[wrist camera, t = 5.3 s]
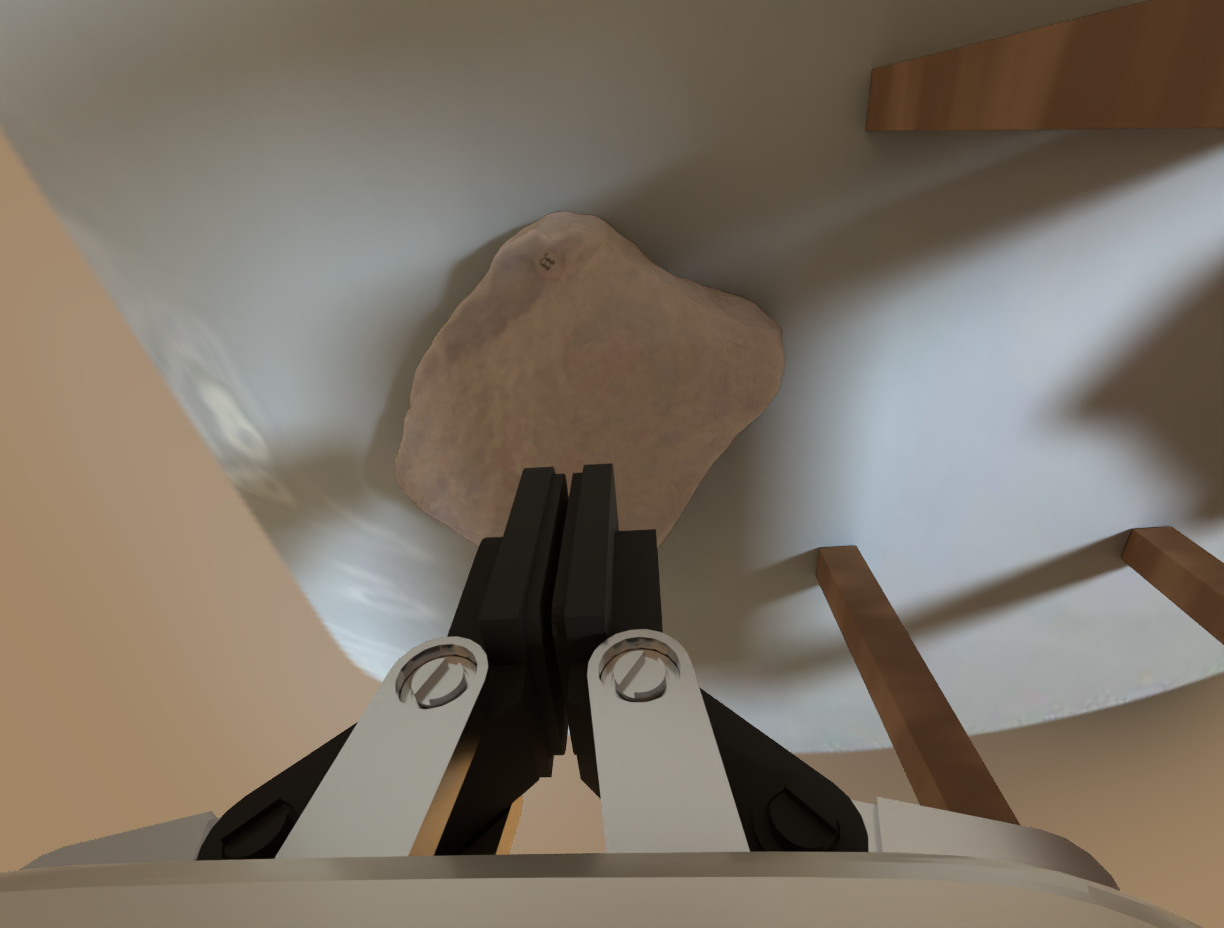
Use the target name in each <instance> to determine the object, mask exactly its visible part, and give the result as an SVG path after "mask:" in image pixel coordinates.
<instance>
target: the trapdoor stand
mask: <svg viewBox="0 0 1224 928" xmlns="http://www.w3.org/2000/svg"><path fill="white" fill-rule="evenodd" d="M1217 127H1224V0H1149V1H1145V2H1141V3H1137V4H1133V5H1129V6H1125V7H1121V8H1117V9H1113V10H1109V11H1105V12H1101V13H1097V14H1093V15H1089V16H1085V17H1081V18H1077V19H1073V20H1069V21H1065V22H1061V23H1057V24H1053V25H1049V26H1045V27H1041V28H1037V29H1033V30H1029V31H1024V32H1020V33H1016V34H1012V35H1008V36H1004V37H1000V38H996V39H992V40H988V41H984V42H980V43H976V44H972V45H968V46H964V47H960V48H956V49H952V50H948V51H944V52H940V53H936V54H932V55H928V56H924V57H920V58H916V59H912V60H908V61H904V62H900V63H896V64H891V65H887V66H883V67H879V68H875V69H872V75H871V84H870V93H869V102H868V111H867V120H866V129H865V131H910V130H1012V129H1115V128H1217ZM1121 559H1122V560H1123V561H1124V562H1125V563H1127V564H1128V565H1129V566H1130V567H1131V568H1133V569H1134V570H1135V571H1136V572H1137V573H1139V574H1140V575H1141V576H1142V577H1143V578H1144V579H1146V580H1147V581H1148V582H1149V583H1150V584H1152V585H1153V586H1154V587H1155V588H1156V589H1158V590H1159V591H1160V592H1161V593H1162V594H1164V595H1165V596H1166V597H1167V598H1168V599H1170V600H1171V601H1172V602H1173V603H1174V604H1175V605H1177V606H1178V607H1179V608H1180V609H1181V610H1183V611H1184V612H1185V613H1186V614H1187V615H1189V616H1190V617H1191V618H1192V619H1193V620H1195V621H1196V622H1197V623H1198V624H1199V625H1201V626H1202V627H1203V628H1204V629H1205V630H1206V631H1208V632H1209V633H1210V634H1211V635H1212V636H1214V637H1215V638H1216V639H1217V640H1218V641H1220V642H1221V643H1222V644H1223V645H1224V563H1223V562H1221V561H1220V560H1218V559H1217V558H1216V557H1214V556H1213V555H1211V554H1210V553H1209V552H1207V551H1206V550H1204V549H1203V548H1201V547H1200V546H1199V545H1197V544H1196V543H1194V542H1193V541H1191V540H1190V539H1189V538H1187V537H1186V536H1184V535H1183V534H1182V533H1180V532H1179V531H1177V530H1176V529H1174V528H1173V527H1156V528H1139V529H1133V530H1132V533H1131V535H1130V538H1129V540H1128V542H1127V545H1126V547H1125V550H1124V552H1123V554H1122V557H1121ZM816 578H817V580H818V582H819V584H820V587H821V589H822V591H823V593H824V595H825V597H826V600H827V602H828V604H829V606H830V608H831V611H832V613H833V615H834V617H835V619H836V622H837V624H838V626H839V628H840V630H841V633H842V635H843V637H844V639H845V641H846V644H847V646H848V648H849V650H850V652H851V654H852V657H853V659H854V661H855V663H856V665H857V668H858V670H859V672H860V674H861V676H862V679H863V681H864V683H865V685H866V687H867V690H868V692H869V694H870V696H871V698H872V701H873V703H874V705H875V707H876V709H877V711H878V714H879V716H880V718H881V720H882V722H883V725H884V727H885V729H886V731H887V733H888V736H889V738H890V740H891V742H892V744H893V747H894V749H895V751H896V753H897V755H898V757H899V759H900V762H901V764H902V766H903V768H904V771H905V773H906V775H907V777H908V779H909V782H910V784H911V786H912V788H913V790H914V793H915V795H916V797H917V799H918V801H919V803H920V805H921V806H926V807H931V808H936V809H941V810H946V811H951V812H956V813H961V814H966V815H971V816H976V817H981V818H986V819H991V820H996V821H1001V822H1006V823H1011V824H1016V825H1020V824H1019V822H1018V820H1017V819H1016V817H1015V815H1014V814H1013V812H1012V810H1011V808H1010V807H1009V805H1008V803H1007V802H1006V800H1005V798H1004V796H1003V795H1002V793H1001V792H1000V790H999V788H998V786H997V785H996V783H995V781H994V779H993V778H992V776H991V774H990V773H989V771H988V769H987V768H986V766H985V764H984V762H983V761H982V759H981V757H980V756H979V754H978V752H977V751H976V749H975V747H974V745H973V744H972V742H971V740H970V739H969V737H968V735H967V733H966V732H965V730H964V728H963V727H962V725H961V723H960V722H959V720H958V718H957V716H956V715H955V713H954V711H953V710H952V708H951V706H950V705H949V703H948V701H947V699H946V698H945V696H944V694H943V693H942V691H941V689H940V688H939V686H938V684H937V682H936V681H935V679H934V677H933V676H932V674H931V672H930V671H929V669H928V667H927V665H926V664H925V662H924V660H923V659H922V657H921V655H920V654H919V652H918V650H917V648H916V647H915V645H914V643H913V642H912V640H911V638H910V636H909V635H908V633H907V631H906V630H905V628H904V626H903V625H902V623H901V621H900V619H899V618H898V616H897V614H896V613H895V611H894V609H893V608H892V606H891V604H890V602H889V601H888V599H887V597H886V596H885V594H884V592H883V591H882V589H881V587H880V585H879V584H878V582H877V580H876V579H875V577H874V575H873V574H872V572H871V570H870V568H869V567H868V565H867V563H866V562H865V560H864V558H863V557H862V555H861V553H860V551H859V550H858V548H857V546H841V547H824V548H819V553H818V562H817V571H816Z"/></svg>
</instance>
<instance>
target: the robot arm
mask: <svg viewBox="0 0 1224 928" xmlns="http://www.w3.org/2000/svg"><path fill="white" fill-rule="evenodd" d="M568 725H569V730H570V736H571V742H572V747H573V752H574V754H575V755H577V760H578V765H579V771H580V777H581V780H582V781H583V782H584V783H585V784H586V785H587V786H588V787H589V788H590V789H591V790H592V791H593V792H594V793H595V794H596V795H597V796H598V797H599V798H600V799H601V805H602V814H603V822H604V831H605V840H606V850H607V853H593V854H591V853H585V854H523V855H522V854H521V855H520V854H518V855H509V853H510V850H511V846H512V843H513V839H514V836H515V833H516V829H517V826H518V823H519V820H520V816H521V812H522V805H523V797H522V794H523V793H525V792H526V791H527V790H528V789H529V788H530V787H532V786H533V785H534V784H535V783H536V782H537V781H538V780H539V777H551V775H552V767H553V758H554V755H564V754H565V750H566V743H567V733H568ZM0 928H1203V927H1201V926H1199V925H1197V924H1195V923H1193V922H1192V921H1190V920H1188V919H1186V918H1183V917H1181V916H1179V915H1177V914H1175V913H1173V912H1170V911H1168V910H1166V909H1164V908H1162V907H1159V906H1157V905H1154V904H1151V903H1149V902H1147V901H1144V900H1142V899H1139V898H1136V897H1134V896H1132V895H1129V894H1127V893H1124V892H1121V891H1120V889H1119V888H1118V886H1117V884H1116V883H1115V881H1114V879H1113V878H1112V876H1111V875H1110V874H1109V873H1108V872H1107V871H1106V870H1105V869H1104V868H1103V867H1102V866H1101V865H1100V864H1099V863H1098V862H1097V861H1096V860H1095V859H1094V858H1093V857H1092V856H1091V855H1090V854H1089V853H1087V852H1086V851H1084V850H1083V849H1081V848H1080V847H1078V846H1077V845H1075V844H1074V843H1072V842H1071V841H1069V840H1067V839H1066V838H1064V837H1061V836H1058V835H1055V834H1052V833H1049V832H1047V831H1044V830H1041V829H1036V828H1031V827H1026V826H1021V825H1016V824H1011V823H1006V822H1001V821H996V820H991V819H986V818H981V817H976V816H971V815H966V814H961V813H956V812H951V811H946V810H941V809H936V808H931V807H926V806H921V805H915V804H911V803H906V802H901V801H896V800H891V799H886V798H880V797H877V798H876V802H875V805H874V804H868V803H864V802H859V801H854V800H851V799H850V798H849V797H848V796H847V795H846V794H845V793H844V792H843V791H842V790H840V789H839V788H838V787H837V786H836V785H835V784H834V783H833V782H831V781H830V780H828V779H827V778H825V777H824V776H823V775H821V774H820V773H819V772H817V771H815V770H814V769H813V768H812V767H810V766H809V765H807V764H806V763H804V762H803V761H802V760H800V759H799V758H798V757H796V756H795V755H793V754H792V753H791V752H789V751H788V750H786V749H785V748H783V747H782V746H781V745H779V744H778V743H776V742H775V741H774V740H772V739H771V738H769V737H768V736H767V735H765V734H764V733H762V732H761V731H760V730H758V729H757V728H755V727H754V726H753V725H751V724H750V723H748V722H747V721H746V720H744V719H743V718H741V717H740V716H739V715H737V714H736V713H734V712H733V711H732V710H730V709H729V708H727V707H726V706H725V705H723V704H722V703H720V702H719V701H718V700H716V699H715V698H713V697H712V696H711V695H709V694H708V693H706V692H705V691H704V690H702V689H701V688H699V685H698V682H697V678H696V675H695V672H694V669H693V665H692V662H691V659H690V657H689V656H688V654H687V652H686V650H685V648H684V647H683V646H682V645H681V644H680V643H679V642H677V641H676V640H675V639H674V638H672V637H670V636H668V635H666V634H664V633H663V629H662V614H661V599H660V584H659V568H658V553H657V538H656V529H649V530H628V531H619V524H618V513H617V502H616V490H615V479H614V469H613V463H608V464H590V465H584V466H583V472H582V473H573V475H572V481H571V487H570V494H569V495H568V488H567V481H566V476H565V474H564V473H563V474H556V473H555V469H554V467H536V468H524V469H523V472H522V475H521V478H520V482H519V485H518V488H517V492H516V495H515V498H514V502H513V505H512V508H511V512H510V515H509V518H508V522H507V525H506V528H505V531H504V535H503V537H485V538H484V539H482V541H481V543H480V545H479V548H478V551H477V553H476V556H475V559H474V562H473V565H472V568H471V571H470V573H469V576H468V579H467V582H466V585H465V588H464V590H463V593H462V596H461V599H460V602H459V605H458V608H457V610H456V613H455V616H454V619H453V622H452V625H451V628H450V630H449V633H448V636H447V637H441V638H437V639H433V640H429V641H426V642H424V643H422V644H420V645H418V646H416V647H414V648H412V649H411V650H410V651H408V652H407V653H406V654H405V655H403V656H402V657H401V658H399V660H398V661H397V662H396V663H395V665H394V666H393V667H392V668H391V670H390V671H389V673H388V674H387V676H386V677H385V679H384V681H383V682H382V684H381V686H380V687H379V689H378V691H377V692H376V694H375V696H374V697H373V699H372V700H371V702H370V703H369V705H368V707H367V708H366V710H365V712H364V713H363V715H362V717H361V718H360V720H359V721H358V722H357V723H356V724H354V725H353V726H351V727H350V728H348V729H347V730H345V731H344V732H342V733H340V734H339V735H337V736H336V737H334V738H333V739H331V740H330V741H328V742H327V743H325V744H324V745H322V746H321V747H319V748H318V749H316V750H315V751H313V752H312V753H310V754H309V755H307V756H306V757H304V758H303V759H301V760H300V761H298V762H297V763H295V764H294V765H292V766H291V767H289V768H288V769H286V770H285V771H283V772H282V773H280V774H279V775H277V776H275V777H274V778H272V779H271V780H269V781H268V782H266V783H265V784H263V785H262V786H260V787H259V788H257V789H256V790H254V791H253V792H251V793H250V794H248V795H247V796H245V797H244V798H243V799H242V800H240V801H239V802H238V803H236V804H235V805H234V806H233V807H232V808H230V809H229V810H228V811H227V812H226V813H225V814H224V815H223V816H222V817H220V818H217V817H216V816H215V814H214V813H213V812H212V811H210V812H205V813H201V814H197V815H193V816H189V817H185V818H181V819H176V820H172V821H168V822H164V823H160V824H156V825H152V826H148V827H143V828H139V829H135V830H131V831H127V832H123V833H119V834H115V835H111V836H106V837H102V838H98V839H94V840H90V841H86V842H82V843H78V844H74V845H69V846H65V847H62V848H60V849H57V850H55V851H52V852H49V853H47V854H44V855H42V856H40V857H39V858H37V859H36V860H34V861H32V862H31V863H29V864H28V865H26V866H24V867H23V868H21V869H20V870H15V871H7V872H2V873H0Z"/></svg>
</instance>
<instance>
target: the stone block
mask: <svg viewBox="0 0 1224 928" xmlns="http://www.w3.org/2000/svg"><path fill="white" fill-rule="evenodd" d="M781 339H782V330H781V327H780V326H779V325H778V324H777V323H776V322H775V321H774V320H773V319H772V318H770V317H769V316H768V315H767V314H766V313H764V312H763V311H762V310H761V309H760V308H759V307H758V306H757V305H756V304H755V303H754V302H751V301H749V300H747V299H744V298H742V297H739V296H737V295H734V294H730V293H724V292H722V291H720V290H718V289H715V288H710V287H705V286H703V285H701V284H699V283H697V282H694V281H691V280H689V279H686V278H682V277H676V276H674V275H673V274H671V273H669V272H667V271H665V270H664V269H662V268H660V267H658V266H656V265H655V264H654V263H653V262H652V261H651V260H650V259H648V258H647V257H646V256H645V255H644V254H643V253H642V252H641V251H640V249H639V248H638V247H637V246H636V245H635V244H634V243H633V242H631V241H629V240H628V239H626V238H625V237H623V236H622V235H620V234H619V233H618V232H616V231H615V230H614V229H613V228H612V227H611V226H610V225H609V224H608V223H607V222H605V221H604V220H602V219H600V218H598V217H596V216H593V215H580V214H576V213H573V212H570V211H559V212H555V213H551V214H547V215H545V216H544V217H542V218H541V219H540V220H538V221H536V222H534V223H532V224H530V225H528V226H526V227H524V228H523V229H522V230H520V231H519V232H518V233H517V234H515V235H514V236H513V237H511V238H510V239H509V240H506V242H505V243H504V244H503V245H502V246H501V247H500V249H499V251H498V252H497V254H496V255H495V256H494V258H493V260H492V262H491V265H490V269H489V271H488V272H487V273H486V275H485V276H484V277H483V278H482V280H481V281H480V282H479V284H478V285H477V286H476V287H475V289H474V290H473V291H472V293H471V294H469V295H468V296H467V297H466V298H465V299H464V300H463V301H461V302H460V304H459V305H458V306H457V307H456V308H455V310H454V312H453V313H452V315H451V317H450V318H449V319H448V321H447V322H446V324H445V325H444V326H443V327H442V328H441V329H440V330H439V332H438V334H437V335H436V337H435V338H434V340H433V341H432V345H431V346H430V347H429V349H428V350H427V351H426V353H425V354H424V356H423V358H422V359H421V361H420V363H419V365H418V367H417V369H416V371H415V374H414V378H413V382H412V387H411V394H410V401H409V402H410V408H409V410H408V411H407V413H406V415H405V418H404V420H403V421H404V431H403V437H402V441H401V443H400V446H399V450H398V453H397V456H396V458H395V461H394V463H395V476H396V479H397V481H398V483H399V484H400V486H401V488H402V489H403V490H405V491H406V493H407V496H408V497H409V498H410V499H411V500H412V501H413V502H414V503H415V504H416V505H417V506H418V507H419V508H420V509H422V510H423V511H424V512H425V513H426V514H427V515H429V516H432V517H434V518H435V519H436V520H438V521H440V522H442V523H444V524H446V525H447V526H448V527H450V528H451V529H452V530H454V531H455V532H457V533H458V534H460V535H462V536H463V537H465V538H466V539H468V540H469V541H471V542H472V543H474V544H475V545H477V546H478V547H479V545H480V543H481V541H482V539H484V538H485V537H503V535H504V531H505V528H506V525H507V522H508V518H509V515H510V512H511V508H512V505H513V502H514V498H515V495H516V492H517V488H518V485H519V482H520V478H521V475H522V472H523V469H524V468H536V467H554V469H555V473H556V474H563V473H564V474H565V476H566V481H567V488H568V495H569V494H570V487H571V481H572V475H573V473H582V472H583V466H584V465H590V464H608V463H613V469H614V479H615V490H616V502H617V513H618V524H619V531H628V530H649V529H656V538H657V548H658V547H659V545H660V544H661V543H662V541H663V540H664V539H665V538H666V536H667V535H668V533H669V532H670V531H671V529H672V528H673V526H674V524H675V523H676V521H677V520H678V518H679V517H680V515H681V514H682V512H683V511H684V509H685V507H686V506H687V504H688V502H689V500H690V499H691V497H692V495H693V493H694V492H695V490H696V488H697V487H698V485H699V484H700V482H701V480H702V479H703V477H704V476H705V474H706V473H707V472H708V470H709V469H710V467H711V466H712V464H713V463H714V462H715V460H716V459H717V458H718V457H719V456H720V455H721V454H722V453H723V452H724V451H725V450H726V449H727V448H728V447H729V445H730V444H731V442H732V441H733V439H734V438H735V436H736V435H737V434H738V433H739V432H740V431H742V430H743V429H744V428H745V427H746V426H748V425H749V424H750V423H751V422H752V421H754V420H755V419H756V418H757V417H759V416H760V415H761V414H762V413H763V411H764V410H765V409H766V407H767V406H768V404H769V403H770V402H771V400H772V399H773V397H774V396H775V394H776V393H777V392H778V390H779V387H780V383H781V380H782V376H783V372H784V366H785V357H784V349H783V344H782V340H781Z"/></svg>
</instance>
